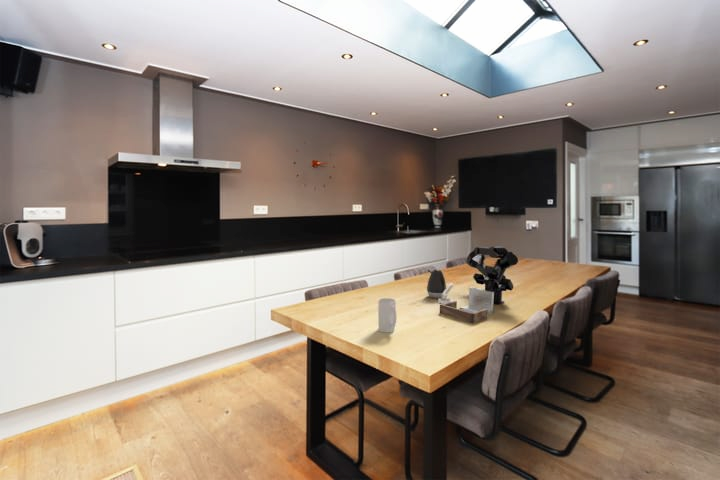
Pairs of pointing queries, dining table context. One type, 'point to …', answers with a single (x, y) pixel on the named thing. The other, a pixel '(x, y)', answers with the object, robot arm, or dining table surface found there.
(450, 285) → the hook
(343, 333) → the dining table surface
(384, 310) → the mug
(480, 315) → the bay
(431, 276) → the pump dispenser
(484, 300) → the bracket
